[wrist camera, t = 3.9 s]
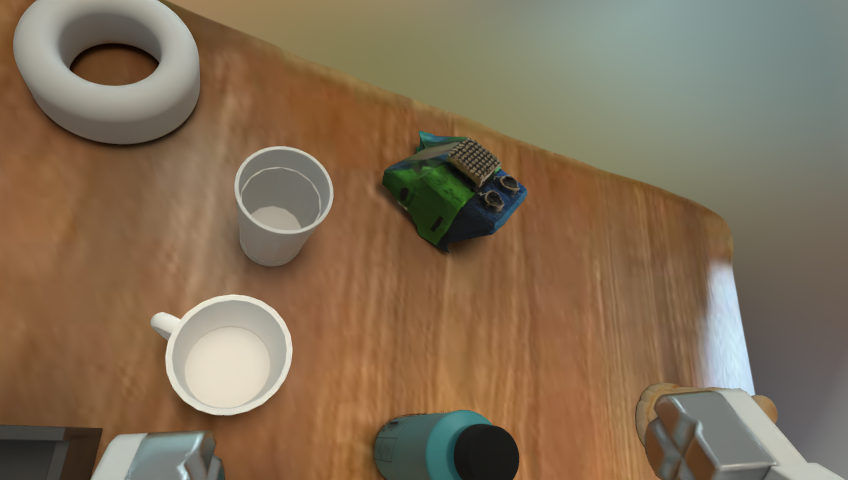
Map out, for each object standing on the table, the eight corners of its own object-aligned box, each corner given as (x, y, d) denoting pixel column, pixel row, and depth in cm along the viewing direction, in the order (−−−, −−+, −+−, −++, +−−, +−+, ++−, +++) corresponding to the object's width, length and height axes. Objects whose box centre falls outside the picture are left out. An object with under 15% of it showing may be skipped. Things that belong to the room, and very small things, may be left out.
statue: (809, 400, 58) (820, 477, 51) (701, 432, 68) (698, 500, 61) (733, 331, 58) (734, 399, 50) (635, 373, 67) (624, 435, 60)
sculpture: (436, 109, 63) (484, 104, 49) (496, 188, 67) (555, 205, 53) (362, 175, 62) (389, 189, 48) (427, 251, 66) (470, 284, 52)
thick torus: (192, 158, 52) (190, 124, 47) (16, 137, 47) (-12, 95, 41) (206, 40, 57) (205, -4, 52) (48, 9, 52) (27, -44, 46)
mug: (295, 346, 50) (312, 327, 41) (246, 435, 46) (254, 436, 37) (190, 293, 48) (185, 261, 39) (130, 381, 44) (109, 368, 35)
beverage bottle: (400, 501, 49) (503, 540, 31) (352, 451, 49) (430, 462, 31) (442, 447, 52) (557, 455, 34) (397, 400, 52) (490, 383, 34)
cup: (303, 199, 55) (324, 145, 45) (316, 269, 53) (341, 229, 43) (225, 204, 52) (228, 147, 42) (235, 279, 50) (241, 238, 40)
